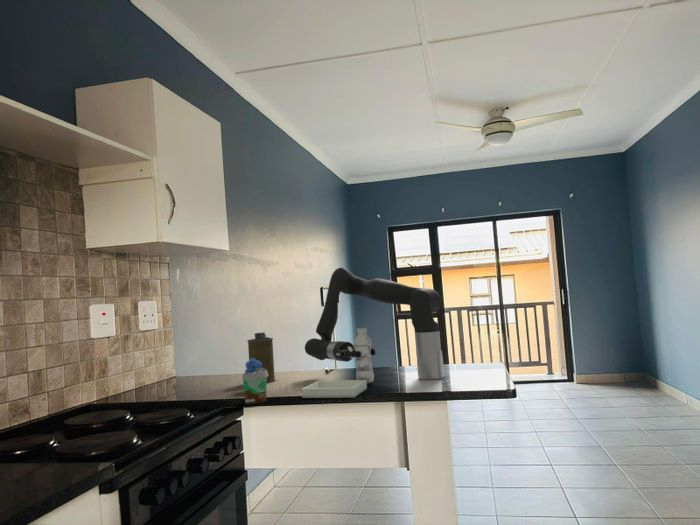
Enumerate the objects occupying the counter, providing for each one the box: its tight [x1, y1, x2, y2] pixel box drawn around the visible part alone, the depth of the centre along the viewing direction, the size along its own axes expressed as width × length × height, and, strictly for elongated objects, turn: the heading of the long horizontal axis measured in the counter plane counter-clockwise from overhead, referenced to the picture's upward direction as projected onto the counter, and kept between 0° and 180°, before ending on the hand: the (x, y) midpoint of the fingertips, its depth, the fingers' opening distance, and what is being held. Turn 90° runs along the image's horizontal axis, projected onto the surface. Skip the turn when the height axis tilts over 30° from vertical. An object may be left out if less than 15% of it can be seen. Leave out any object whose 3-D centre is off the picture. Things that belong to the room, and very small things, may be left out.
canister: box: [247, 332, 276, 384], centre depth 212 cm, size 11×10×20 cm
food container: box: [241, 369, 269, 406], centre depth 170 cm, size 12×6×10 cm, turn 168°
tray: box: [301, 379, 368, 399], centre depth 175 cm, size 18×15×3 cm
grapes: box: [244, 358, 264, 374], centre depth 191 cm, size 12×7×12 cm, turn 47°
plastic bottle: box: [353, 327, 375, 384], centre depth 188 cm, size 6×7×20 cm
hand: (367, 353), depth 186 cm, fingers closed on plastic bottle, 6 cm apart
